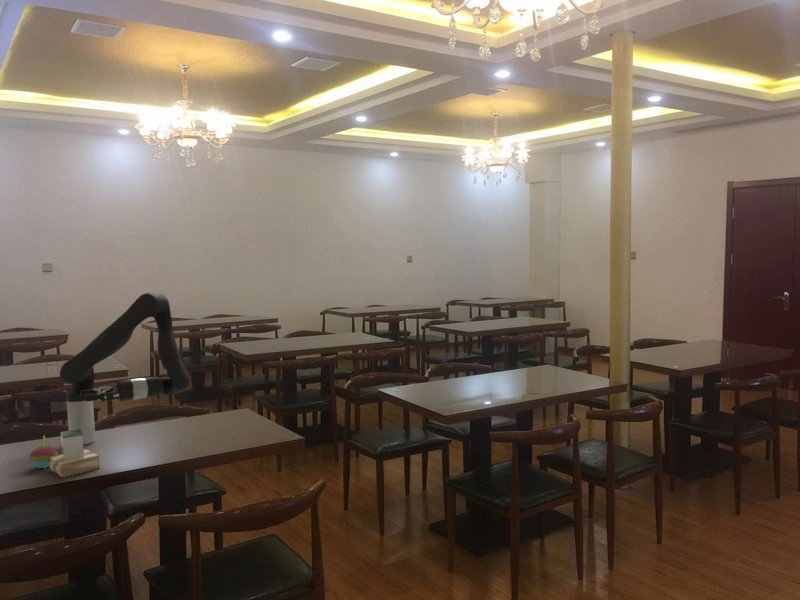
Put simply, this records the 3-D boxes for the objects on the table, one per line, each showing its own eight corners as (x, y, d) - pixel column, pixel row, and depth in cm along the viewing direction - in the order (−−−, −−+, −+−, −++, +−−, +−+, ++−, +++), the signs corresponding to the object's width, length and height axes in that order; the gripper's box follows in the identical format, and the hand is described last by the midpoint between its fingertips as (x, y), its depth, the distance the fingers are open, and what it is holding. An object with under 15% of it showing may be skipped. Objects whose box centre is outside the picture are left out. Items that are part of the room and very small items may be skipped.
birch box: (50, 471, 223) (49, 457, 223) (86, 462, 232) (85, 449, 231) (62, 479, 215) (61, 464, 215) (99, 469, 223) (98, 455, 223)
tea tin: (62, 456, 224) (60, 432, 223) (81, 452, 227) (79, 429, 226) (64, 460, 219) (62, 435, 218) (84, 456, 222) (82, 432, 221)
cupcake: (62, 465, 227) (59, 432, 226) (35, 472, 221) (33, 438, 220) (52, 461, 233) (50, 428, 232) (26, 467, 227) (24, 433, 226)
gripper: (126, 376, 238) (78, 382, 229) (136, 382, 227) (86, 388, 217) (127, 396, 239) (79, 403, 230) (137, 403, 228) (87, 410, 218)
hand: (82, 396), depth 224 cm, fingers open, 8 cm apart
